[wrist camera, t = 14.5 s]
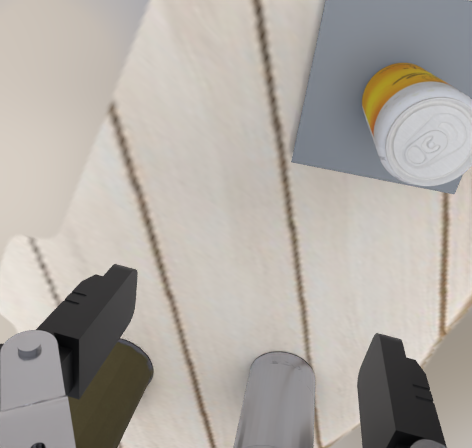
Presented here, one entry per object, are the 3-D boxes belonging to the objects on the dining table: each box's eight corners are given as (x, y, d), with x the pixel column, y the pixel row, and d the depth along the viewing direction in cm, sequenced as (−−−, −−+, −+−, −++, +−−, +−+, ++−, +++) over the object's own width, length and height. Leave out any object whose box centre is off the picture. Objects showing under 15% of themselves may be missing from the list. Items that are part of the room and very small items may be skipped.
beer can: (447, 99, 37) (514, 148, 24) (388, 144, 39) (418, 210, 26) (405, 45, 35) (450, 66, 22) (347, 96, 38) (357, 140, 25)
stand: (446, 183, 43) (454, 194, 40) (293, 153, 45) (291, 162, 42) (516, 10, 35) (531, 10, 33) (329, -18, 37) (330, -21, 35)
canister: (84, 333, 63) (-11, 456, 45) (149, 341, 61) (77, 473, 43) (96, 386, 67) (16, 516, 50) (157, 394, 66) (96, 532, 48)
